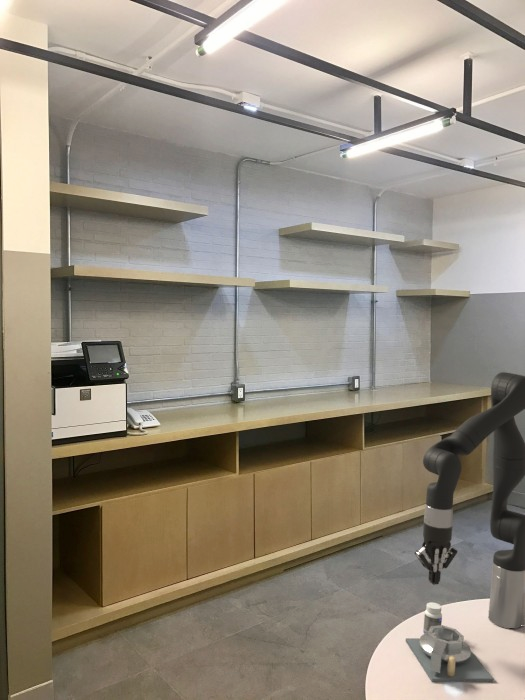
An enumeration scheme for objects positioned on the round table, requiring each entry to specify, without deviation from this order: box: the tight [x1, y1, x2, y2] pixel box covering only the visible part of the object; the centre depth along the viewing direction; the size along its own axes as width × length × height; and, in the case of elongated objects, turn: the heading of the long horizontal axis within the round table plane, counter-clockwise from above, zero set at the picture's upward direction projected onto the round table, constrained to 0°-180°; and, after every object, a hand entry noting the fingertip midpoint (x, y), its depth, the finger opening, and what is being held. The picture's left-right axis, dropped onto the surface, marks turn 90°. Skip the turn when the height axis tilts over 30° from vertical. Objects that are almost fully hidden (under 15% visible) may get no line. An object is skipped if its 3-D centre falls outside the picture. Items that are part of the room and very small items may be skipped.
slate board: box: [405, 637, 495, 683], centre depth 150 cm, size 16×18×5 cm
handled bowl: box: [419, 624, 472, 673], centre depth 150 cm, size 18×13×4 cm
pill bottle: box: [422, 602, 443, 634], centre depth 163 cm, size 5×5×8 cm
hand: (434, 583), depth 159 cm, fingers closed
